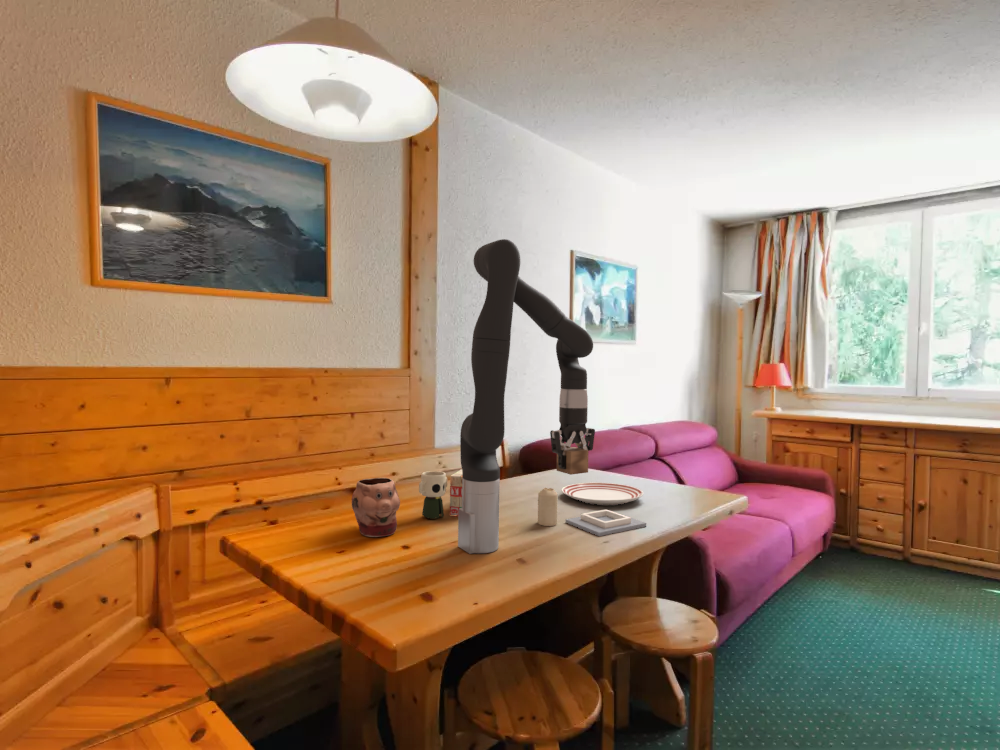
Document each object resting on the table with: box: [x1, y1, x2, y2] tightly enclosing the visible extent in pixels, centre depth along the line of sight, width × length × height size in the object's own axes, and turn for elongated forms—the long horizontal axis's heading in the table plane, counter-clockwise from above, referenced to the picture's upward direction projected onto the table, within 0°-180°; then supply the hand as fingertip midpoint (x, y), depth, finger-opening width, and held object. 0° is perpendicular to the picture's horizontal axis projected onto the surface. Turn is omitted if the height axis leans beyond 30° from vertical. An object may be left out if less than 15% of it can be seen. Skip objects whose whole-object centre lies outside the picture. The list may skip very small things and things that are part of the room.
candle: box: [537, 487, 559, 527], centre depth 155 cm, size 6×6×10 cm
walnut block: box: [556, 446, 589, 475], centre depth 147 cm, size 6×6×6 cm
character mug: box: [418, 470, 448, 520], centre depth 159 cm, size 11×7×13 cm, turn 140°
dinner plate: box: [561, 481, 644, 506], centre depth 186 cm, size 27×27×3 cm
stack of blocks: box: [449, 468, 462, 517], centre depth 171 cm, size 21×6×12 cm, turn 165°
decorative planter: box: [351, 477, 401, 538], centre depth 146 cm, size 20×12×14 cm, turn 36°
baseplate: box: [564, 509, 647, 537], centre depth 155 cm, size 18×14×2 cm
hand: (572, 467), depth 147 cm, fingers closed on walnut block, 6 cm apart
